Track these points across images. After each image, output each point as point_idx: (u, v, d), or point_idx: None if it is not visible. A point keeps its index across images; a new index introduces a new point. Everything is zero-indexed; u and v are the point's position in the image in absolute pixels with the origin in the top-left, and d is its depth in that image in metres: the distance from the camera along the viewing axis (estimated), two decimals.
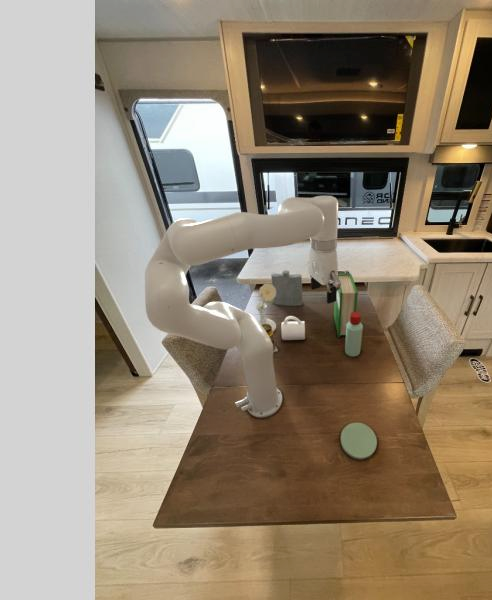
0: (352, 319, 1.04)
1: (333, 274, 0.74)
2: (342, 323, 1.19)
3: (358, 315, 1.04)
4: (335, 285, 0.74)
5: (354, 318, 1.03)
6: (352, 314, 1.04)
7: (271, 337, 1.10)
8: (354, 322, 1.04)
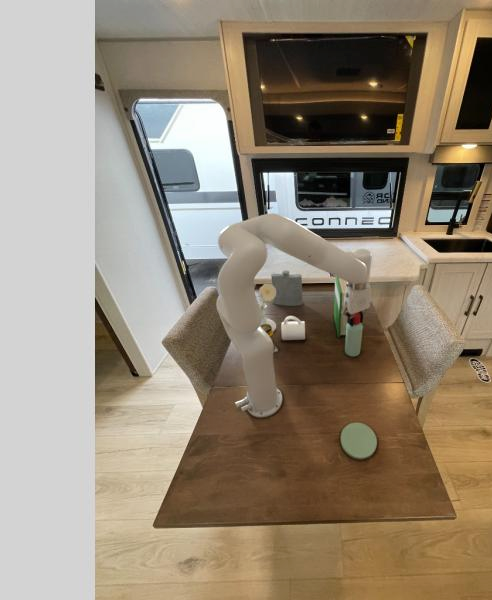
0: None
1: None
2: (342, 323, 1.19)
3: (358, 315, 1.04)
4: None
5: (354, 318, 1.03)
6: None
7: (271, 337, 1.10)
8: (354, 322, 1.04)
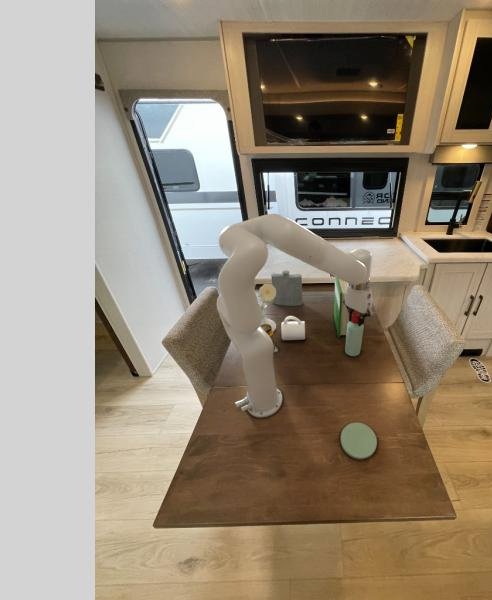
0: None
1: None
2: (342, 323, 1.19)
3: (357, 311, 1.05)
4: None
5: None
6: (358, 315, 1.03)
7: (271, 337, 1.10)
8: None
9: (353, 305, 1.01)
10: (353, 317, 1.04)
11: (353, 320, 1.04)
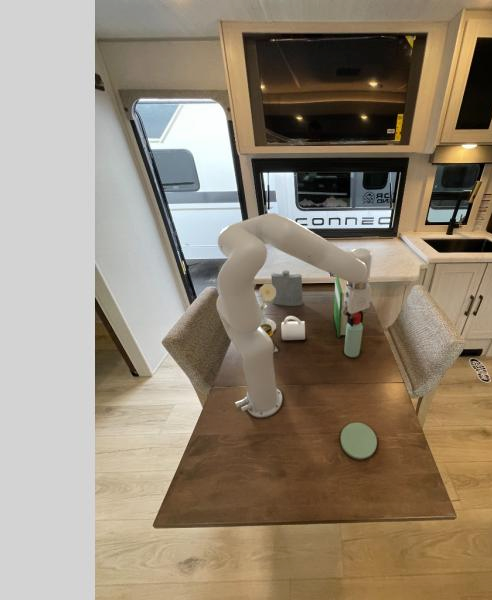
0: None
1: None
2: (342, 323, 1.19)
3: (353, 314, 1.04)
4: None
5: None
6: (358, 313, 1.04)
7: (271, 337, 1.10)
8: None
9: None
10: (360, 317, 1.04)
11: (360, 320, 1.04)
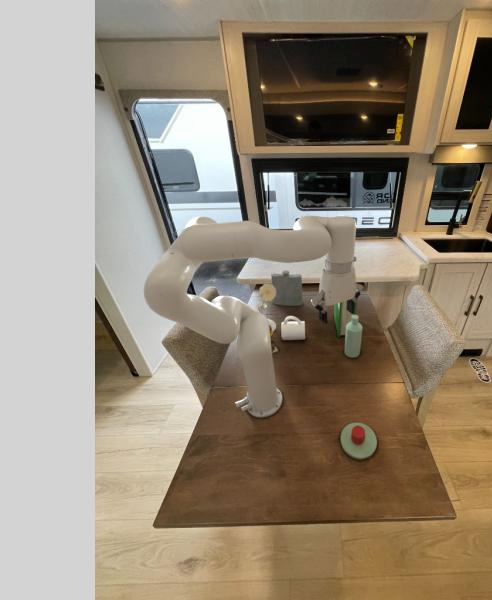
0: None
1: (320, 293, 0.72)
2: (342, 323, 1.19)
3: (356, 428, 0.80)
4: None
5: None
6: (362, 434, 0.78)
7: (271, 337, 1.10)
8: None
9: (341, 297, 0.74)
10: (357, 439, 0.78)
11: (358, 442, 0.78)
